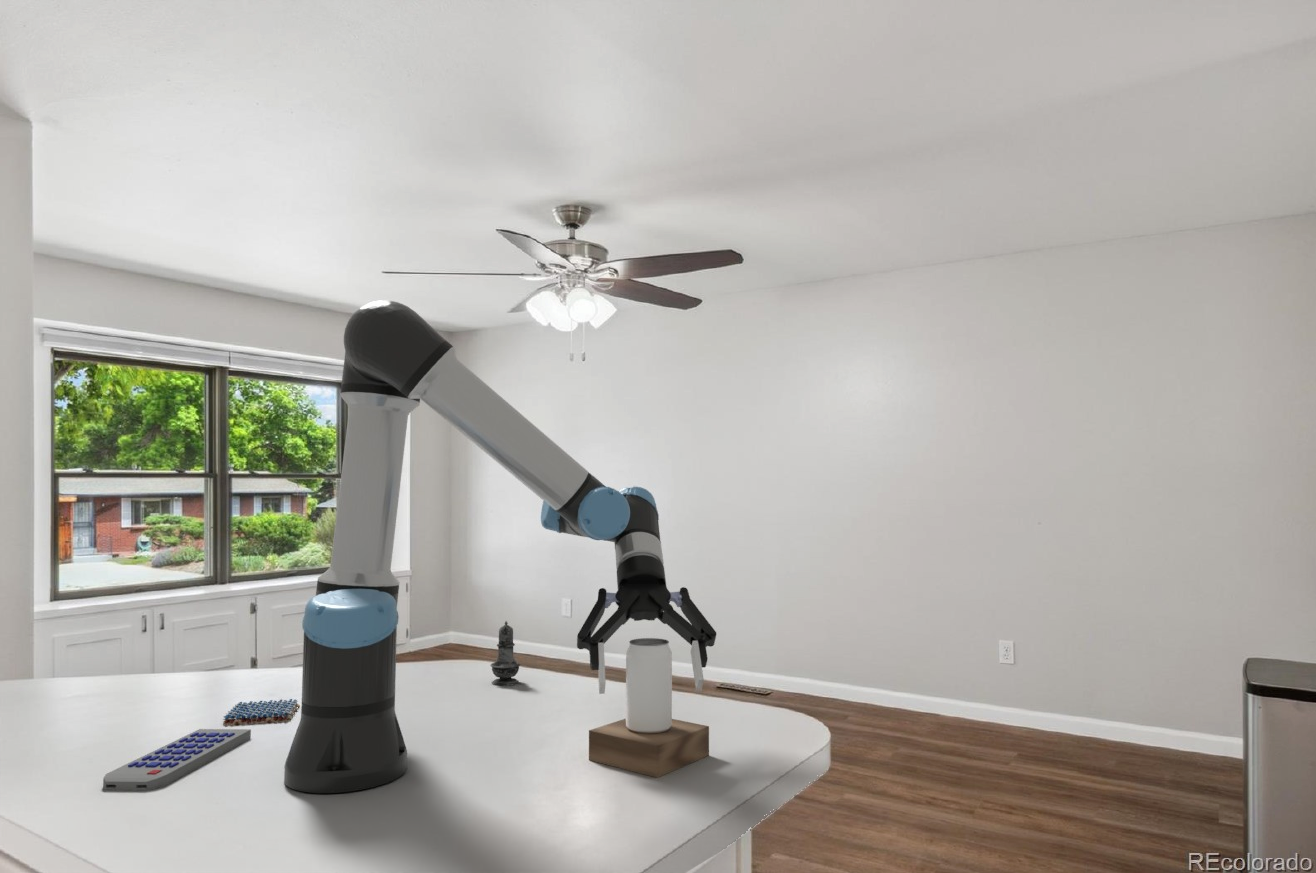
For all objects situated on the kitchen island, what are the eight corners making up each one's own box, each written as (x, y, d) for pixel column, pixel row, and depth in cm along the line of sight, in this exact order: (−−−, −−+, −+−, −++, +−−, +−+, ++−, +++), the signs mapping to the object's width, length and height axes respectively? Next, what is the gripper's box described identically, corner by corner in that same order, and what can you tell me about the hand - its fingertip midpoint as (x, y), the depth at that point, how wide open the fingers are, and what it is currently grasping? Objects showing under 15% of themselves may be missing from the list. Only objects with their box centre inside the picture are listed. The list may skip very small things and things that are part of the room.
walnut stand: (657, 777, 108) (657, 746, 108) (588, 759, 115) (589, 730, 116) (709, 755, 118) (708, 726, 118) (642, 740, 125) (642, 712, 125)
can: (617, 730, 116) (617, 642, 116) (639, 719, 121) (640, 636, 122) (658, 736, 112) (658, 646, 113) (679, 725, 118) (679, 639, 119)
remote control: (250, 742, 126) (251, 727, 126) (156, 794, 103) (157, 775, 103) (199, 741, 126) (200, 726, 126) (94, 793, 103) (95, 774, 104)
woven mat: (219, 730, 132) (219, 716, 132) (235, 713, 142) (236, 701, 143) (290, 725, 135) (290, 712, 135) (301, 709, 145) (301, 697, 145)
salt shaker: (523, 679, 167) (524, 619, 167) (515, 686, 161) (516, 623, 162) (495, 679, 167) (496, 618, 168) (486, 685, 161) (487, 623, 162)
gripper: (714, 582, 135) (735, 699, 119) (560, 584, 132) (560, 704, 116) (721, 552, 130) (743, 668, 114) (560, 553, 127) (561, 673, 111)
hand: (651, 687), depth 115 cm, fingers open, 13 cm apart
